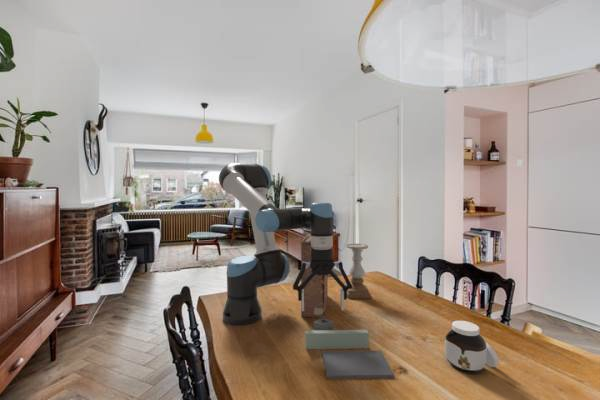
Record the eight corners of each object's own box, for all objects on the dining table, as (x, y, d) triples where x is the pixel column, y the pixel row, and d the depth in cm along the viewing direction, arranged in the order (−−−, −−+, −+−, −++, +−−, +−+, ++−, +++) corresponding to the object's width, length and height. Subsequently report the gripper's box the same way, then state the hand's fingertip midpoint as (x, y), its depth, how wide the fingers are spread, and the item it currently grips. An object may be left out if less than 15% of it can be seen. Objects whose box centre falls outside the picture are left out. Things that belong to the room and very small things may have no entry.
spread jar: (440, 362, 87) (441, 323, 86) (458, 350, 94) (459, 313, 93) (486, 383, 77) (487, 339, 77) (502, 367, 84) (503, 327, 84)
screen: (305, 349, 94) (305, 333, 94) (305, 345, 96) (305, 330, 96) (368, 348, 95) (368, 332, 94) (367, 344, 97) (367, 329, 96)
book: (308, 295, 143) (308, 232, 143) (327, 295, 142) (327, 233, 141) (301, 317, 118) (301, 241, 117) (324, 318, 117) (324, 242, 116)
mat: (327, 378, 79) (327, 375, 79) (322, 354, 91) (322, 351, 91) (394, 377, 80) (394, 374, 80) (380, 353, 92) (380, 350, 92)
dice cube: (333, 335, 103) (333, 321, 103) (325, 341, 99) (325, 326, 99) (321, 331, 106) (321, 317, 106) (313, 336, 103) (313, 322, 102)
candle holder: (371, 298, 138) (371, 247, 138) (347, 298, 138) (347, 247, 138) (366, 290, 149) (366, 243, 148) (344, 290, 149) (344, 243, 149)
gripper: (285, 250, 98) (286, 314, 99) (360, 249, 99) (361, 312, 99) (285, 246, 106) (286, 305, 106) (355, 245, 106) (356, 304, 107)
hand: (322, 309), depth 103 cm, fingers open, 13 cm apart
